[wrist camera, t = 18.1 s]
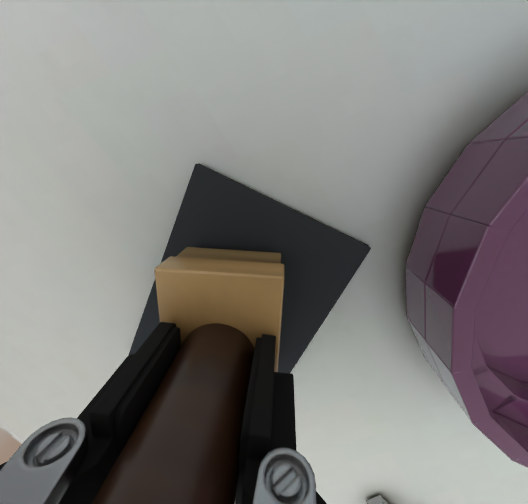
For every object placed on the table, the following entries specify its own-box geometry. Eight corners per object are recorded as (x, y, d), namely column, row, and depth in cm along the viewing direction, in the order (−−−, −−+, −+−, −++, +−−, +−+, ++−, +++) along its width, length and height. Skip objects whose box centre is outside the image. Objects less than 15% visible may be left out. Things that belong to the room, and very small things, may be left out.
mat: (199, 163, 12) (195, 163, 12) (368, 245, 13) (371, 248, 12) (132, 350, 16) (127, 356, 15) (264, 406, 17) (264, 413, 16)
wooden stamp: (183, 244, 12) (-44, 423, 4) (284, 250, 12) (283, 459, 4) (191, 365, 15) (61, 644, 6) (276, 373, 14) (263, 678, 6)
